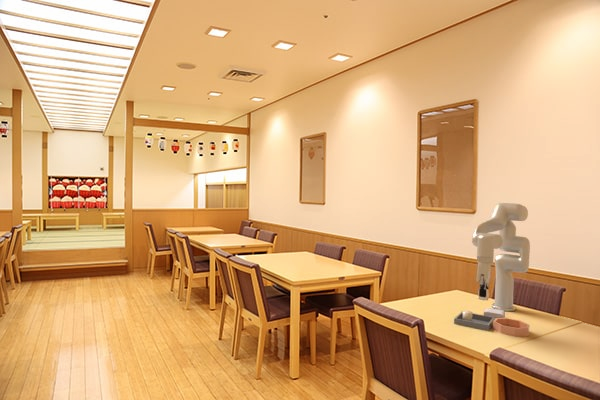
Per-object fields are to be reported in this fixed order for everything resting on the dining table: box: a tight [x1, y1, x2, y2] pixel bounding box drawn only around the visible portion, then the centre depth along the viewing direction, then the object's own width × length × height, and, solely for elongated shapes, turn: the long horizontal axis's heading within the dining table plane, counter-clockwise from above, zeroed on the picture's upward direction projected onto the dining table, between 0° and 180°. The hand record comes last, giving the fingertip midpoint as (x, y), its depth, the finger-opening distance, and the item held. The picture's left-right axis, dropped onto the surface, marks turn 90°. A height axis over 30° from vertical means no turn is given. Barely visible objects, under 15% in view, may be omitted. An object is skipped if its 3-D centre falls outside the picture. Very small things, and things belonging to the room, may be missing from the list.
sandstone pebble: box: [462, 310, 473, 322], centre depth 206 cm, size 5×5×5 cm
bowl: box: [492, 317, 530, 337], centre depth 195 cm, size 15×15×4 cm
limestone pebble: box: [477, 289, 490, 301], centre depth 202 cm, size 5×5×5 cm
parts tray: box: [453, 310, 495, 332], centre depth 204 cm, size 16×16×3 cm
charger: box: [483, 307, 506, 318], centre depth 215 cm, size 5×9×15 cm
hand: (483, 295), depth 202 cm, fingers closed on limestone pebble, 4 cm apart
